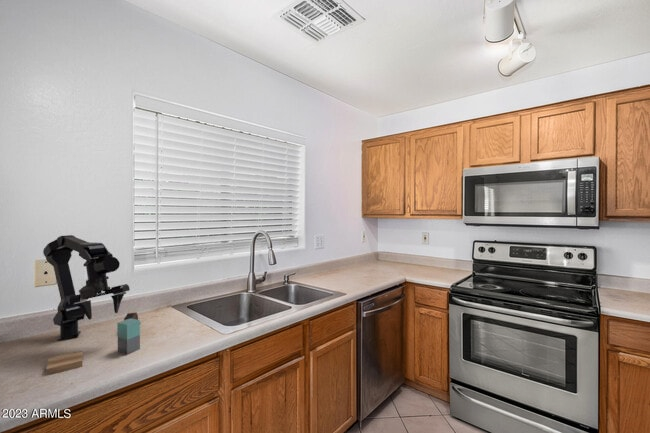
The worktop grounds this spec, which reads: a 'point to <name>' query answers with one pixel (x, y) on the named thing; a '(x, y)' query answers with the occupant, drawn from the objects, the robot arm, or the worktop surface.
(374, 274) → the worktop surface
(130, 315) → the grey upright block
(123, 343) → the teal block grey base
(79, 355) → the stand
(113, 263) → the robot arm
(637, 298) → the worktop surface
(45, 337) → the worktop surface
